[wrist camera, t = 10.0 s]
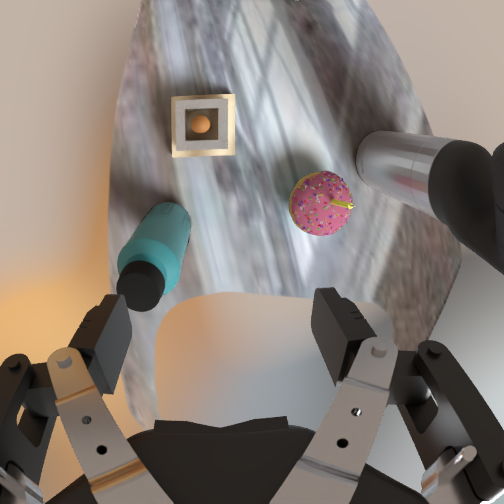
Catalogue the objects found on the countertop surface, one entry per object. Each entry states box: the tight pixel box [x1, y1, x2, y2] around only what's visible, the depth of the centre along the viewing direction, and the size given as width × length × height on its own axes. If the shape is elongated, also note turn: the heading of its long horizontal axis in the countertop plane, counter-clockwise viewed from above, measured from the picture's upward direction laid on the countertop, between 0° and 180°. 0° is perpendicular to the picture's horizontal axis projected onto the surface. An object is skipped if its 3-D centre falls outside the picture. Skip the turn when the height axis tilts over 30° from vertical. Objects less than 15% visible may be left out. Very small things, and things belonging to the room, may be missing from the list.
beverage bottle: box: [116, 201, 192, 312], centre depth 32 cm, size 6×7×20 cm
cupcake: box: [289, 171, 355, 236], centre depth 36 cm, size 9×8×12 cm
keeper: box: [171, 94, 235, 158], centre depth 33 cm, size 8×8×7 cm
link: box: [175, 99, 228, 151], centre depth 33 cm, size 6×6×4 cm
